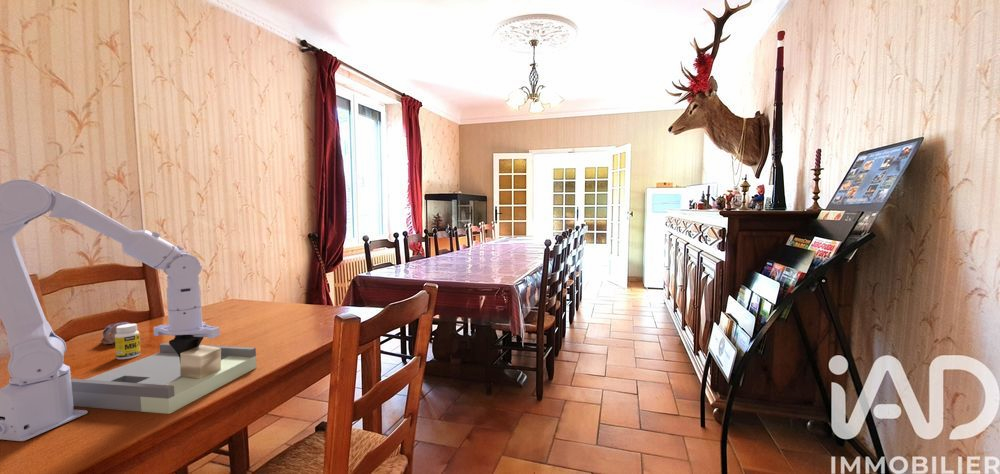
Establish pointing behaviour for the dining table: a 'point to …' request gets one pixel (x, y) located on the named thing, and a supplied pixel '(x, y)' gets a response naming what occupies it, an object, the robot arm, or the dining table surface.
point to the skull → (111, 333)
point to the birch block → (200, 361)
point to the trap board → (158, 382)
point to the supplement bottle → (127, 341)
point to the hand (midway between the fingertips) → (189, 368)
